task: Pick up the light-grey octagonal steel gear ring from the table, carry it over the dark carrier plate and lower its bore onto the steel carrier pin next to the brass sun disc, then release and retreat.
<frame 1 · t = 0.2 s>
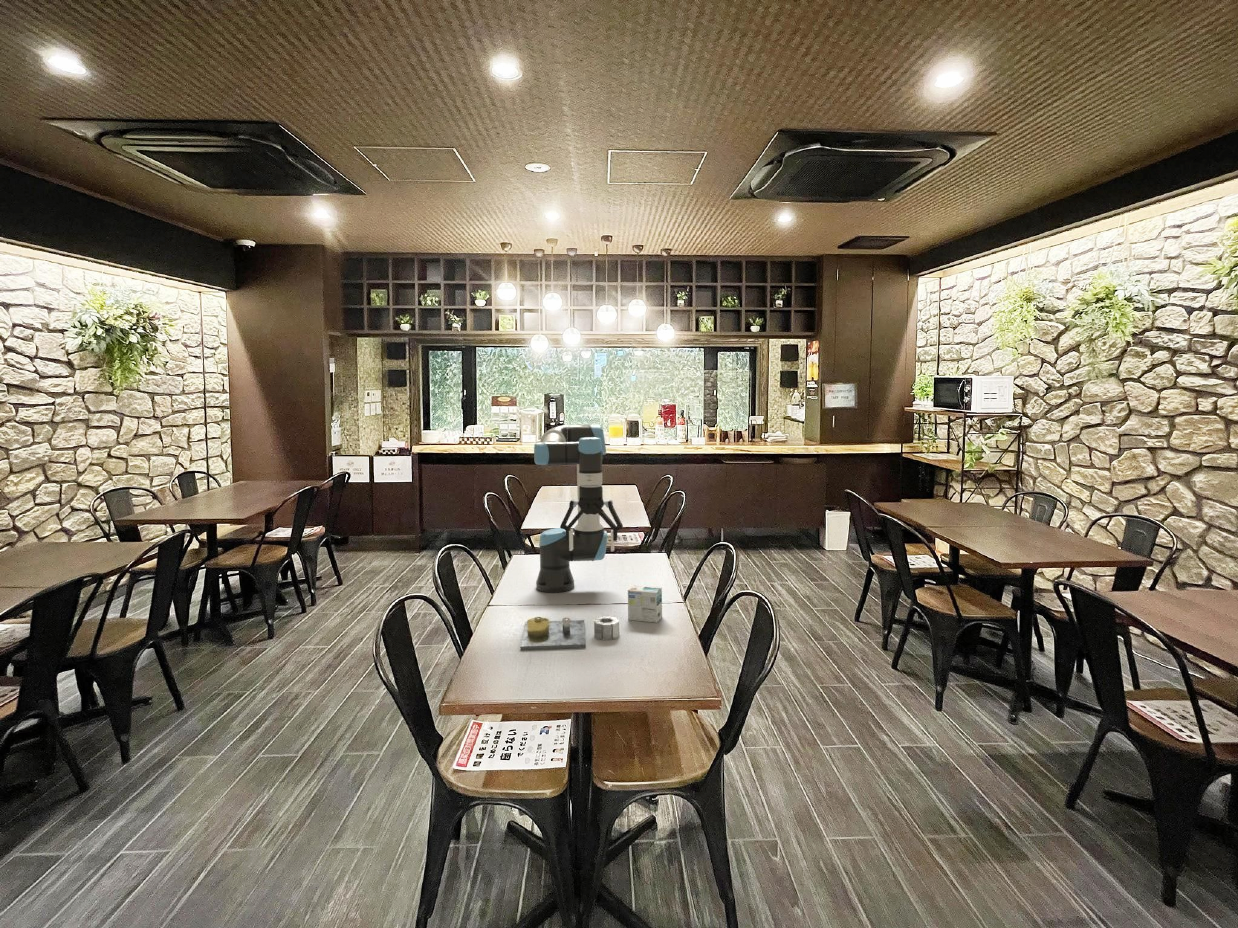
hand: (591, 550, 228), 27 cm above the table, fingers open, 13 cm apart
carrier: (554, 636, 227), on the table
planet gear: (606, 635, 227), on the table
light bulb box: (645, 619, 242), on the table
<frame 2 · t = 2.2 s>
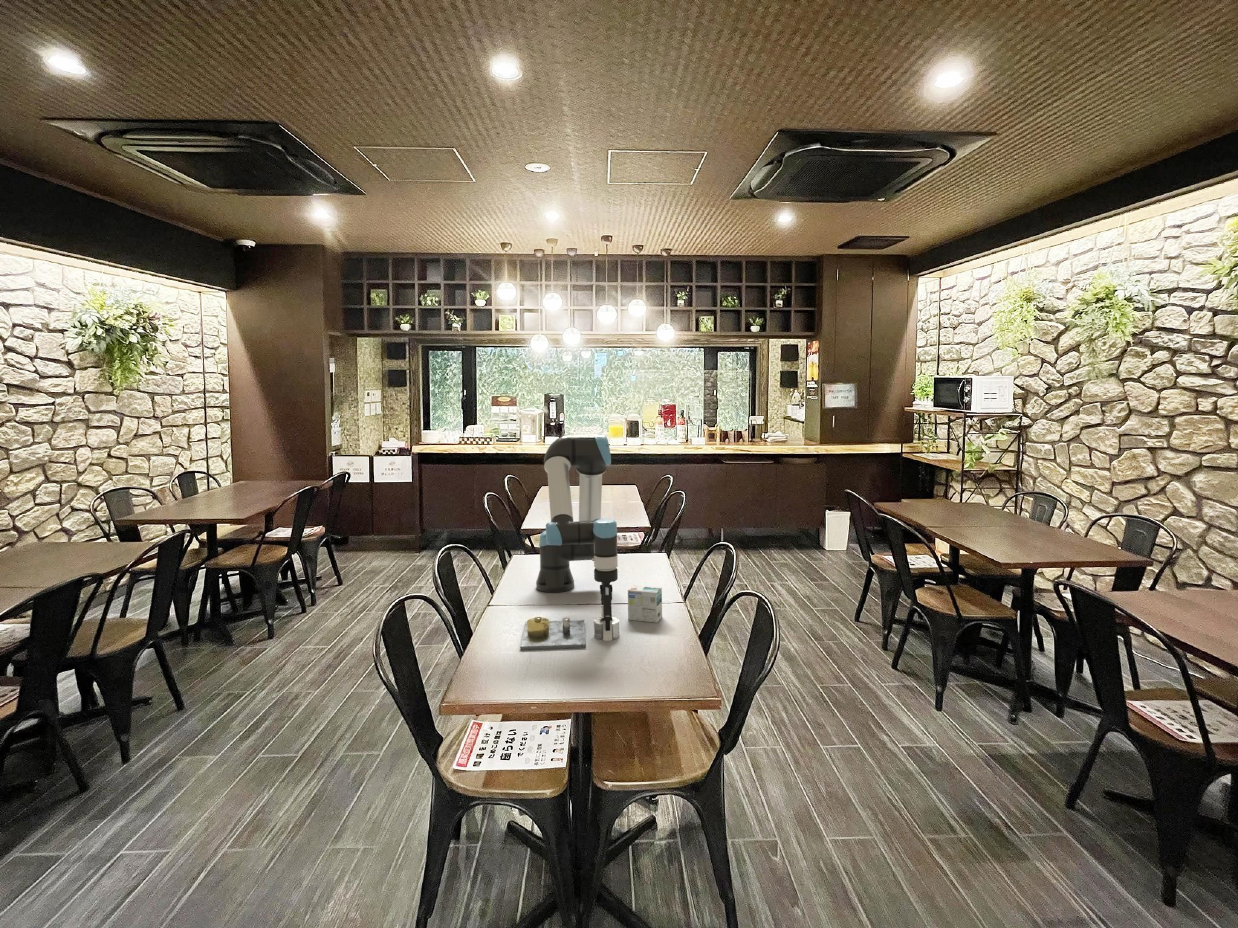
hand: (606, 632, 226), 1 cm above the table, fingers open, 13 cm apart
nothing on the table moved.
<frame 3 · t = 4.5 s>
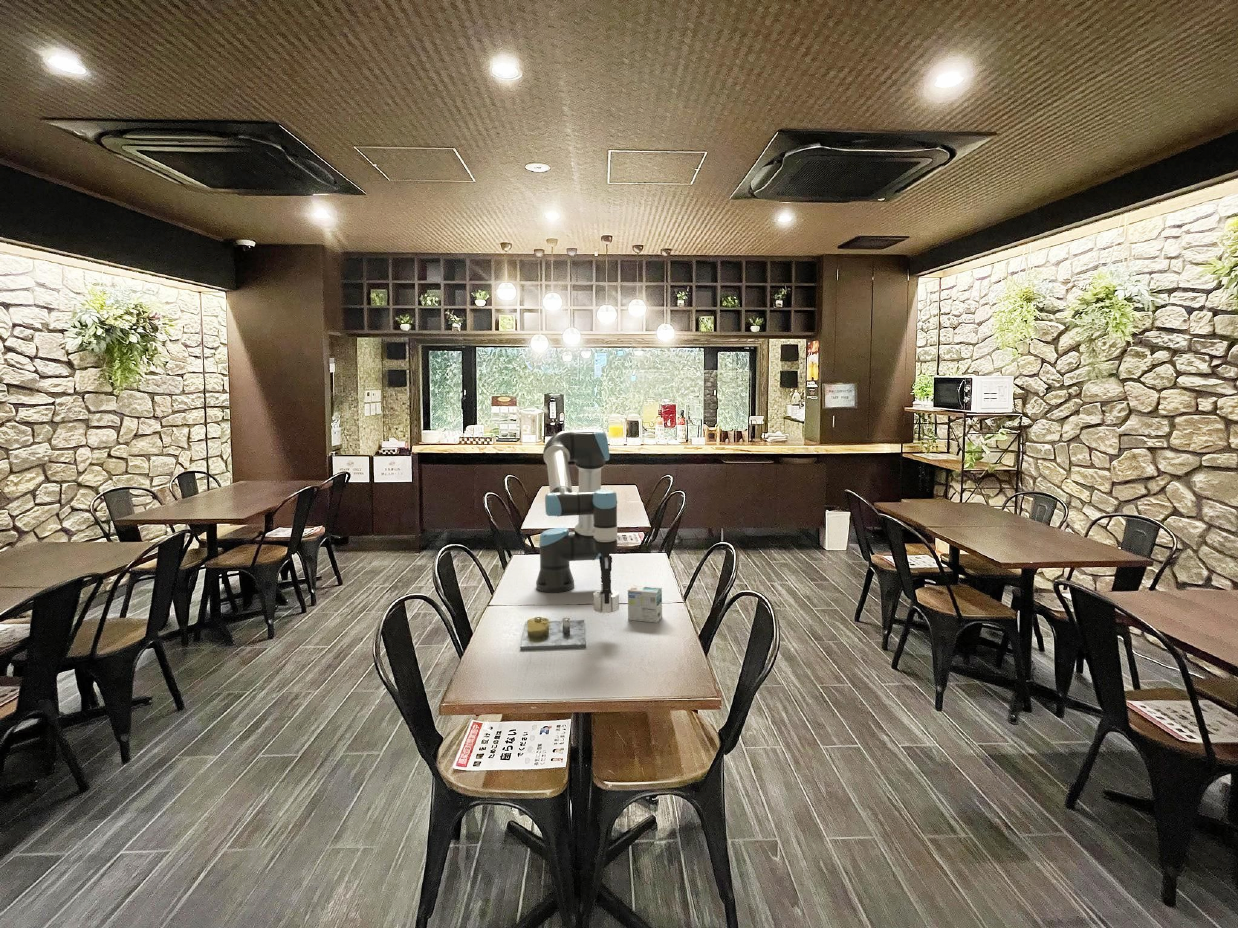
hand: (606, 607, 226), 9 cm above the table, fingers closed on planet gear, 8 cm apart
planet gear: (606, 608, 226), point 9 cm above the table, touching gripper
everything else where it was.
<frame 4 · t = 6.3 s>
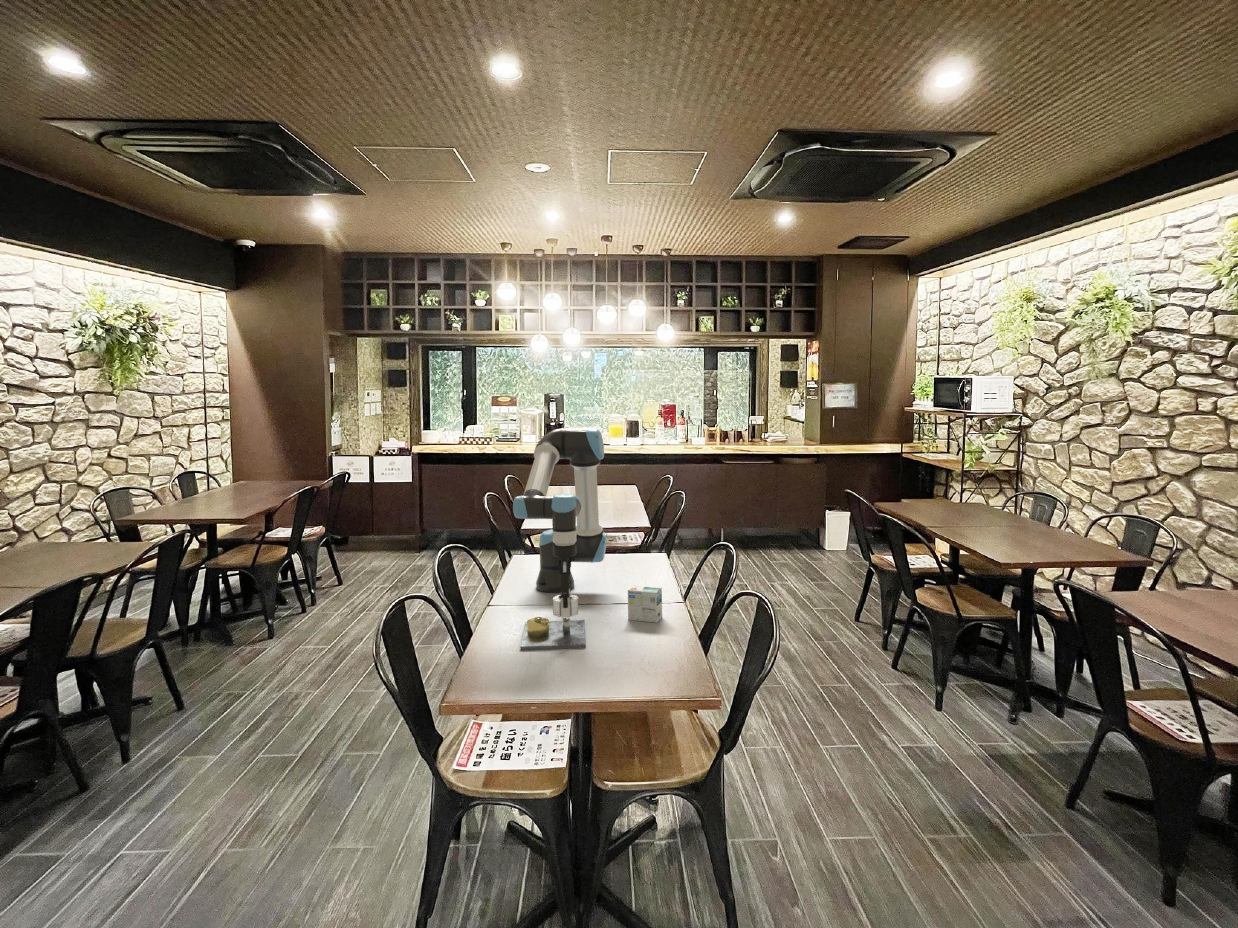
hand: (565, 612, 226), 8 cm above the table, fingers closed on planet gear, 8 cm apart
planet gear: (565, 613, 226), point 8 cm above the table, touching gripper
everything else where it was.
when the fingers open (2 cm above the table, at t = 8.2 s): planet gear stays where it is, resting on carrier.
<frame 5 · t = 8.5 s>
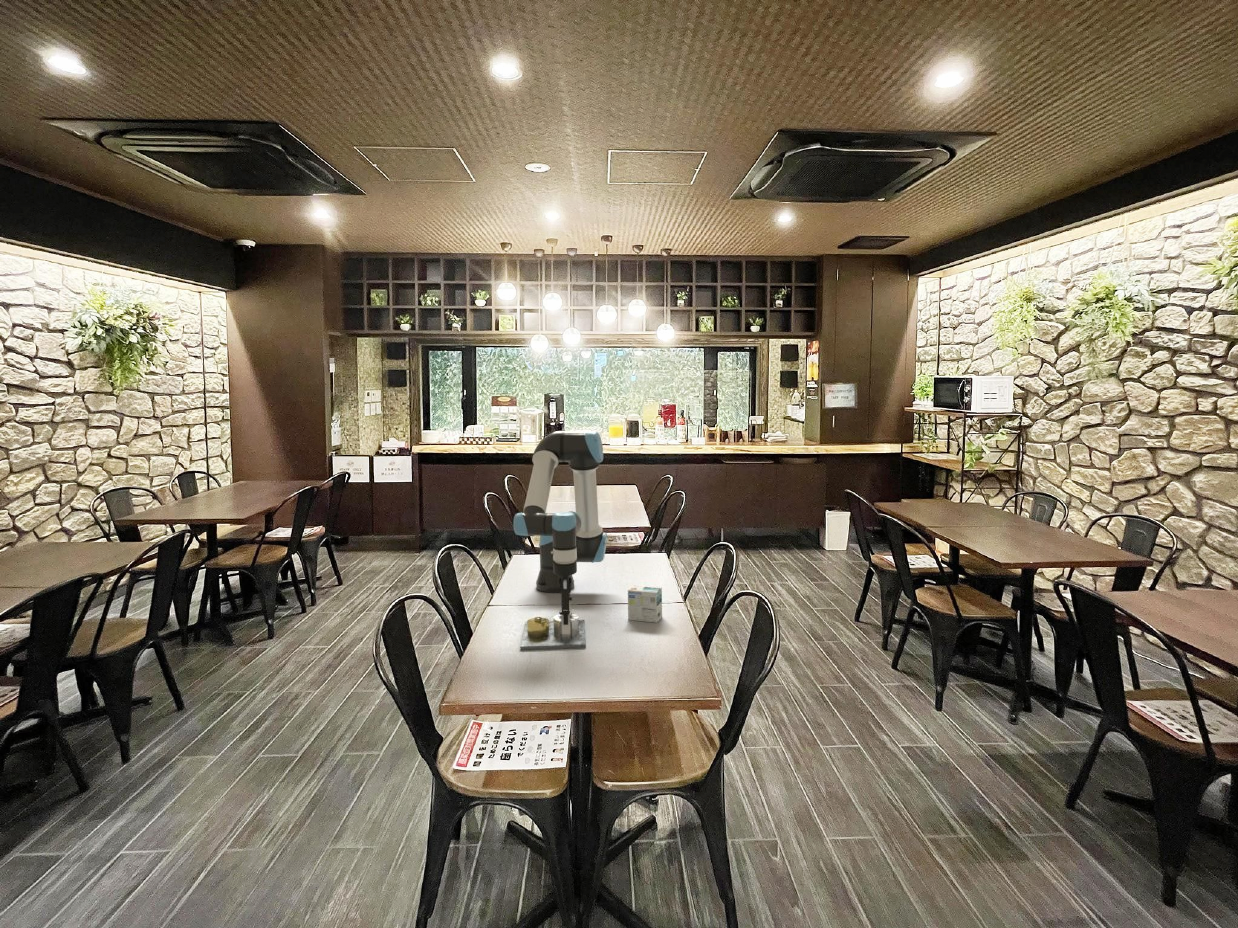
hand: (566, 627, 226), 3 cm above the table, fingers open, 11 cm apart
planet gear: (566, 631, 227), point 1 cm above the table, touching carrier
everything else where it was.
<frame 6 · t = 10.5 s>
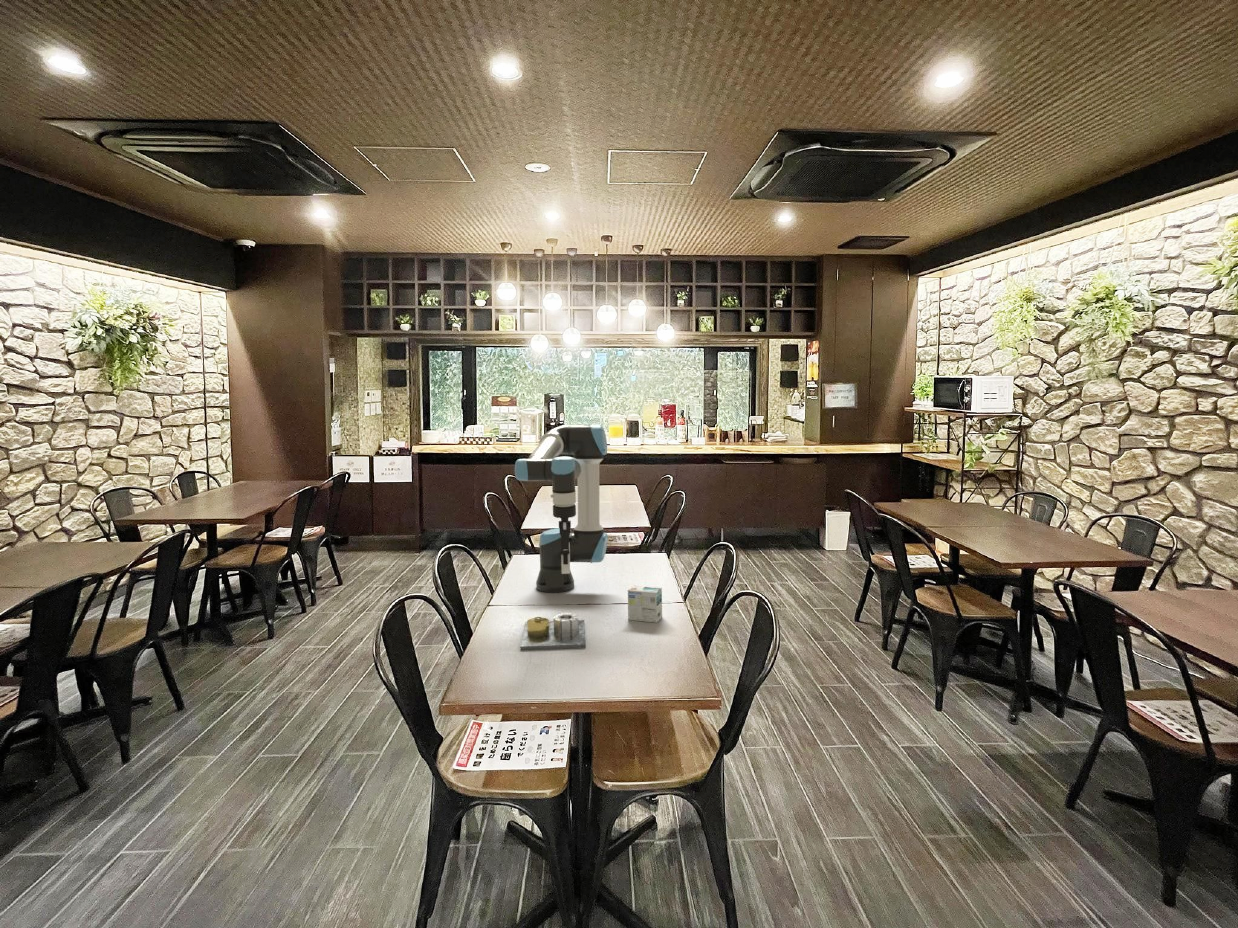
hand: (566, 567, 232), 21 cm above the table, fingers open, 13 cm apart
nothing on the table moved.
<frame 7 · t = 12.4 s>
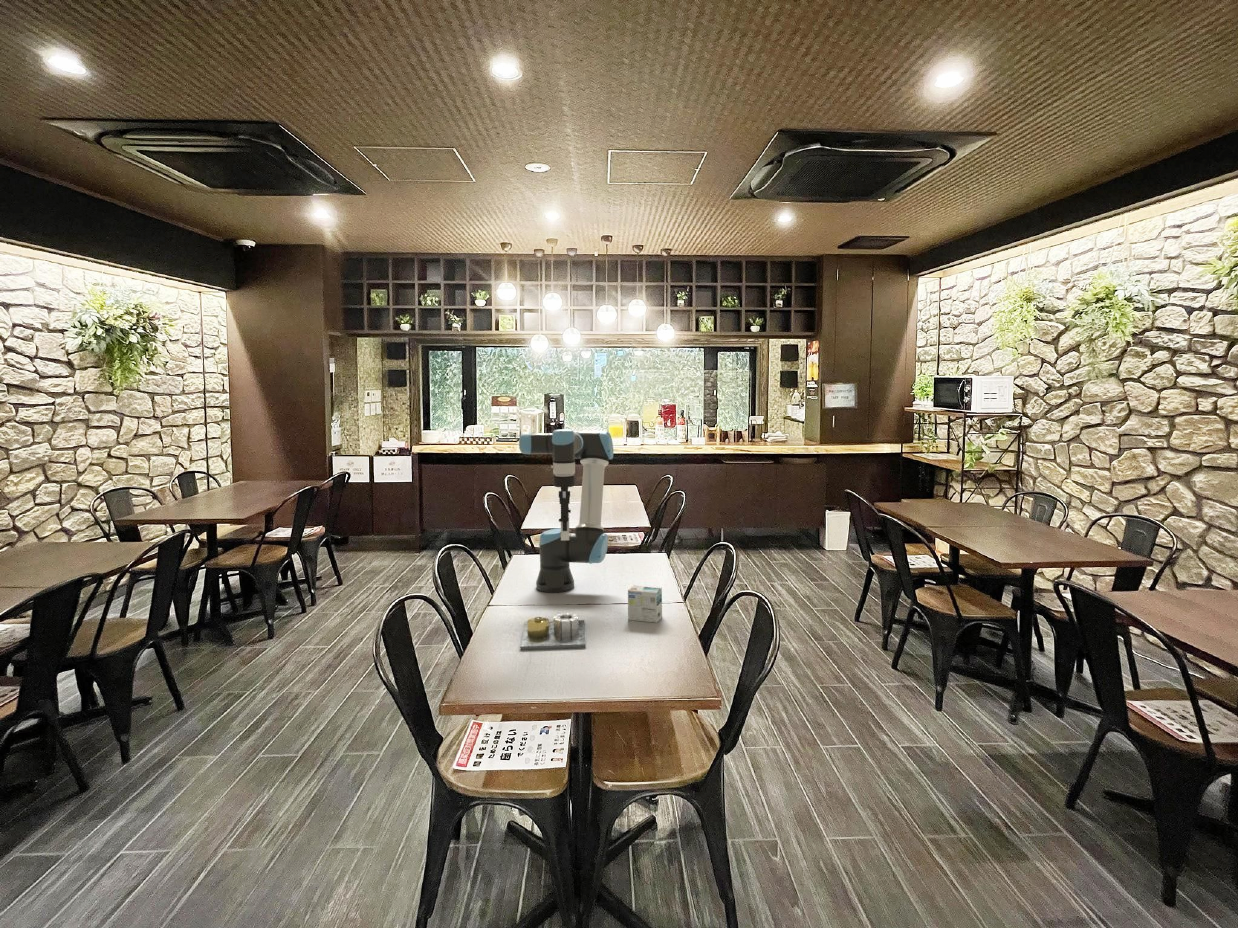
hand: (565, 535, 242), 29 cm above the table, fingers open, 13 cm apart
nothing on the table moved.
at the end: planet gear 0.1 cm from the target spot, point 1.2 cm above the table; planet gear tilted 0°; the gripper is holding nothing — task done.
